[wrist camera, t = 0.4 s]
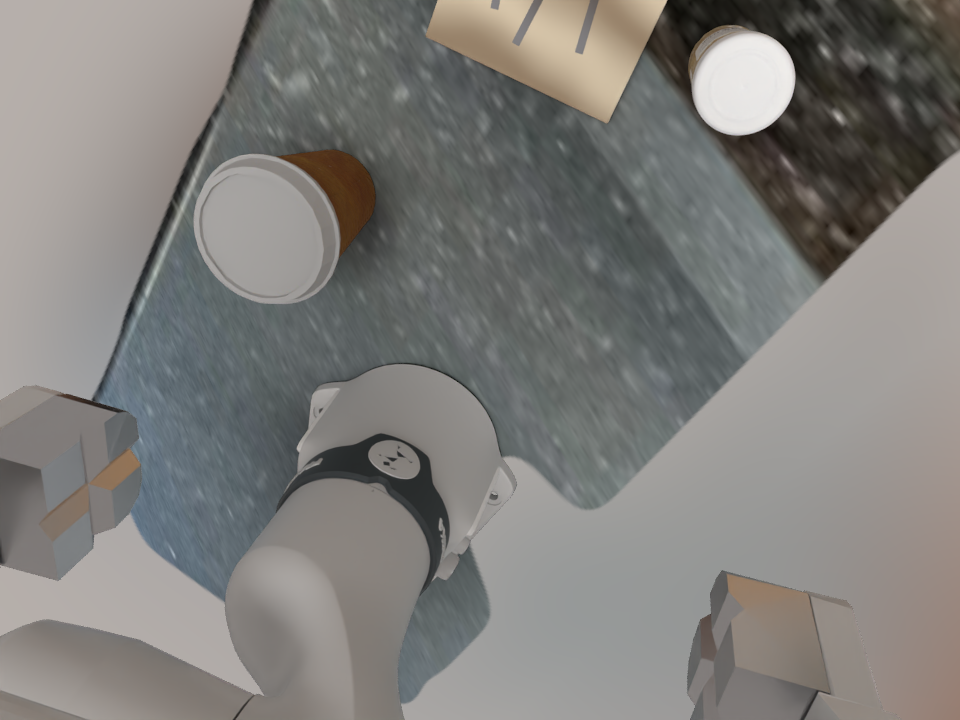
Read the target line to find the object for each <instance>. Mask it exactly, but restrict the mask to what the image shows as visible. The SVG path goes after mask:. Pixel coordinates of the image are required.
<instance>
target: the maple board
mask: <svg viewBox="0 0 960 720" xmlns="http://www.w3.org/2000/svg"><path fill="white" fill-rule="evenodd" d="M666 2H667V0H438V1H437V4H436V7H435V10H434V13H433V16H432V19H431V22H430V24H429V27H428V30H427V33H426V36H425V37H427V38H429V39H431V40H434V41H436V42H438V43H440V44H442V45H444V46H446V47H448V48H450V49H452V50H454V51H457V52H459V53H461V54H463V55H465V56H467V57H469V58H471V59H473V60H475V61H477V62H479V63H482V64H484V65H486V66H488V67H490V68H492V69H494V70H496V71H498V72H500V73H502V74H505V75H507V76H509V77H511V78H513V79H515V80H517V81H519V82H521V83H523V84H525V85H527V86H530V87H532V88H534V89H536V90H538V91H540V92H542V93H544V94H546V95H548V96H550V97H553V98H555V99H557V100H559V101H561V102H563V103H565V104H567V105H569V106H571V107H573V108H576V109H578V110H580V111H582V112H584V113H586V114H588V115H590V116H592V117H594V118H596V119H598V120H601V121H603V122H605V123H607V124H608V122H609V120H610V118H611V116H612V114H613V111H614V109H615V107H616V105H617V103H618V101H619V99H620V97H621V95H622V93H623V91H624V89H625V87H626V85H627V83H628V81H629V78H630V76H631V74H632V72H633V70H634V68H635V66H636V64H637V62H638V60H639V58H640V56H641V54H642V52H643V50H644V47H645V45H646V43H647V41H648V39H649V37H650V35H651V33H652V31H653V29H654V27H655V25H656V23H657V21H658V19H659V17H660V14H661V12H662V10H663V8H664V6H665V4H666Z"/></svg>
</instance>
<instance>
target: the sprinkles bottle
mask: <svg viewBox="0 0 960 720" xmlns="http://www.w3.org/2000/svg"><path fill="white" fill-rule="evenodd" d="M688 73H689V77H690V81H691V84H692V96H693V101H694V104H695V106H696V109H697V111H698V113H699V114H700V116H701V117H702V119H703V120H704V121H705V122H706V123H707V124H708V125H709V126H711V127H712V128H714V129H715V130H717V131H719V132H722V133H724V134H728V135H747V134H752V133H755V132H758V131H760V130H762V129H764V128H766V127H768V126H769V125H770V124H772V123H773V122H774V121H775V120H776V119H778V118H779V117H780V115H781V114H782V113H783V112H784V110H785V109H786V107H787V106H788V104H789V102H790V100H791V98H792V95H793V91H794V87H795V70H794V65H793V62H792V60H791V57H790V55H789V54H788V52H787V51H786V49H785V48H784V47H783V46H782V45H781V44H780V43H779V42H778V41H776V40H775V39H773V38H772V37H770V36H768V35H765V34H763V33H759V32H755V31H750V30H749V29H747V28H745V27H742V26H738V25H726V26H720V27H717V28H715V29H713V30H711V31H709V32H708V33H706V34H705V35H704V36H703V37H702V38H701V39H700V40H699V42H698V43H696V45H695V47H694V49H693V50H692V53H691V55H690V58H689V67H688Z"/></svg>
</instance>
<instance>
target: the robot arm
mask: <svg viewBox="0 0 960 720" xmlns="http://www.w3.org/2000/svg"><path fill="white" fill-rule="evenodd" d="M322 408H323V409H322ZM138 439H139V435H138V428H137V420H136V418H135V417H134V416H133V415H132V414H130V413H129V412H128V411H125V410H121V409H118V408H114V407H111V406H108V405H104V404H101V403H97V402H94V401H90V400H87V399H84V398H80V397H77V396H73V395H70V394H64V393H61V392H58V391H55V390H51V389H47V388H44V387H40V386H23V387H22V388H20V389H18V390H17V391H15V392H13V393H12V394H10V395H8V396H6V397H5V398H3V399H1V400H0V565H2V566H6V567H9V568H13V569H16V570H20V571H24V572H27V573H31V574H35V575H38V576H43V577H46V578H49V579H53V580H57V581H59V580H60V579H61V578H62V577H63V576H64V575H65V574H66V573H67V572H68V571H69V570H71V569H72V568H73V567H74V566H75V565H76V564H77V563H78V562H79V561H80V560H81V559H82V558H83V557H84V556H86V554H88V553H89V552H90V551H91V550H92V549H93V543H94V535H95V534H98V533H101V532H104V531H107V530H109V529H112V528H115V527H116V526H117V525H118V524H119V523H120V522H121V521H122V520H123V519H124V518H125V517H126V516H127V515H128V514H129V513H130V511H131V509H132V507H133V505H134V503H135V501H136V500H137V498H138V496H139V492H140V487H141V481H142V472H141V464H140V462H139V461H138V459H137V458H136V457H135V455H134V454H133V452H132V451H131V449H130V448H131V447H132V446H133V445H134V444H135V442H136V441H137V440H138ZM297 450H298V452H299V457H298V471H297V474H296V475H295V476H294V478H293V479H292V480H291V482H290V483H289V484H288V486H287V488H286V490H285V491H284V494H283V496H282V497H281V499H280V501H279V503H278V506H277V510H276V514H275V515H274V517H273V518H272V519H271V521H270V522H269V523H268V524H267V526H266V527H265V528H264V530H263V531H262V532H261V534H260V535H259V536H258V537H257V539H256V540H255V541H254V543H253V544H252V545H251V547H250V548H249V549H248V551H247V552H246V553H245V554H244V556H243V557H242V558H241V560H240V561H239V562H238V563H237V565H236V567H235V568H234V570H233V573H232V575H231V577H230V580H229V583H228V586H227V591H226V597H225V612H226V620H227V625H228V629H229V632H230V636H231V640H232V642H233V645H234V648H235V651H236V652H237V655H238V657H239V659H240V660H241V662H242V663H243V665H244V666H245V668H246V669H247V671H248V672H249V673H250V675H251V676H252V678H253V679H254V680H255V682H256V683H257V685H258V686H259V687H260V689H261V691H262V692H263V694H264V696H262V695H260V694H256V695H254V694H252V693H250V692H247V691H245V690H243V689H241V688H239V687H237V686H235V685H233V684H231V683H229V682H226V681H224V680H222V679H220V678H218V677H216V676H214V675H212V674H210V673H207V672H205V671H203V670H201V669H199V668H197V667H195V666H193V665H191V664H189V663H187V662H185V661H182V660H181V659H178V658H176V657H174V656H172V655H170V654H168V653H166V652H164V651H161V650H160V649H157V648H155V647H153V646H151V645H149V644H147V643H145V642H143V641H141V640H138V639H134V638H130V637H126V636H122V635H118V634H114V633H110V632H106V631H102V630H98V629H93V628H88V627H83V626H79V625H74V624H69V623H64V622H59V621H54V620H40V621H36V622H33V623H30V624H27V625H24V626H22V627H19V628H17V629H15V630H13V631H10V632H8V633H6V634H4V635H2V636H0V720H404V716H403V712H402V707H401V702H400V695H399V688H398V663H399V656H400V652H401V648H402V644H403V641H404V637H405V634H406V631H407V628H408V625H409V622H410V619H411V616H412V613H413V610H414V608H415V605H416V602H417V600H418V597H419V596H420V595H421V594H422V593H423V592H424V591H425V590H426V589H427V587H428V586H429V584H430V583H431V582H432V581H433V580H434V579H435V578H436V577H437V576H438V577H439V578H441V579H442V580H447V579H448V578H449V577H450V575H451V574H452V573H453V571H454V569H455V568H456V566H457V564H458V562H459V557H458V553H459V554H461V555H462V554H463V553H464V552H465V551H466V549H467V548H468V546H469V544H470V541H471V539H472V538H473V537H474V536H475V535H476V534H477V533H478V532H479V531H480V530H481V529H482V528H483V526H484V525H485V524H486V523H487V522H488V521H489V520H490V519H491V518H492V517H493V516H494V515H495V514H496V512H497V511H498V510H499V509H500V508H501V507H502V506H503V505H504V504H505V503H506V502H507V501H508V500H509V498H510V497H511V496H512V495H513V493H514V491H515V489H516V486H517V482H516V479H515V477H514V475H513V473H512V471H511V470H510V468H509V467H508V465H507V464H506V463H505V461H504V460H503V459H502V457H501V454H500V451H499V447H498V442H497V437H496V433H495V430H494V427H493V424H492V422H491V420H490V418H489V416H488V414H487V412H486V411H485V409H484V408H483V406H482V405H481V404H480V402H479V401H478V400H477V399H476V398H475V397H474V396H473V395H472V394H471V393H470V392H469V391H468V390H467V389H466V388H465V387H463V386H462V385H461V384H459V383H458V382H457V381H455V380H453V379H452V378H450V377H448V376H446V375H444V374H442V373H440V372H438V371H435V370H432V369H429V368H426V367H422V366H417V365H409V364H394V365H387V366H382V367H378V368H375V369H372V370H370V371H368V372H366V373H364V374H362V375H360V376H359V377H357V378H355V379H353V380H350V381H347V382H332V383H325V384H322V385H320V386H318V387H317V389H316V390H315V392H314V393H313V395H312V398H311V407H310V416H309V426H308V430H307V432H306V433H305V435H304V436H303V437H302V439H301V440H300V442H299V444H298V446H297ZM491 492H495V493H497V495H493V494H491ZM710 599H711V614H709V615H707V616H706V617H704V618H702V619H701V620H700V622H699V625H698V627H697V631H696V633H695V636H694V639H693V643H692V648H691V653H690V658H689V664H688V676H687V679H688V680H687V694H688V696H689V697H690V699H691V700H692V701H693V703H694V705H695V708H694V711H693V714H692V716H691V718H690V720H901V719H900V717H898V715H897V714H894V713H891V712H887V711H884V710H883V708H882V705H881V701H880V698H879V695H878V691H877V688H876V685H875V682H874V678H873V675H872V671H871V668H870V665H869V661H868V658H867V655H866V651H865V648H864V644H863V641H862V638H861V634H860V631H859V628H858V624H857V621H856V618H855V614H854V611H853V608H852V606H851V605H850V604H849V603H848V602H847V601H846V600H841V599H837V598H833V597H829V596H825V595H820V594H817V593H813V592H808V591H803V592H802V591H799V590H796V589H792V588H788V587H784V586H780V585H776V584H773V583H769V582H765V581H761V580H757V579H753V578H750V577H745V576H742V575H738V574H734V573H730V572H727V571H723V570H722V571H721V572H720V574H719V575H718V577H717V578H716V580H715V583H714V585H713V588H712V590H711V593H710Z"/></svg>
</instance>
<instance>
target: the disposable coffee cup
mask: <svg viewBox="0 0 960 720" xmlns="http://www.w3.org/2000/svg"><path fill="white" fill-rule="evenodd" d="M374 206H375V189H374V185H373V182H372V179H371V177H370V175H369V173H368V172H367V170H366V169H365V168H364V166H363V165H362V164H361V163H360V162H359V161H358V160H357V159H355V158H354V157H352V156H351V155H349V154H347V153H344V152H342V151H338V150H323V151H316V152H308V153H299V154H292V155H284V156H277V157H275V156H270V155H266V154H247V155H241V156H238V157H235V158H232V159H230V160H228V161H226V162H224V163H222V164H221V165H220V166H219V167H218V168H217V169H216V170H214V171H213V172H212V173H211V175H210V176H209V178H208V179H207V181H206V182H205V184H204V186H203V189H202V191H201V193H200V195H199V197H198V199H197V202H196V207H195V211H194V232H195V237H196V241H197V244H198V248H199V250H200V252H201V255H202V257H203V259H204V261H205V262H206V264H207V265H208V267H209V269H210V270H211V271H212V272H213V274H214V275H215V276H216V277H217V278H218V279H219V280H220V281H221V282H222V283H223V284H224V285H225V286H226V287H228V288H229V289H231V290H232V291H233V292H235V293H236V294H238V295H240V296H243V297H245V298H247V299H250V300H252V301H255V302H260V303H266V304H289V303H295V302H300V301H303V300H305V299H308V298H310V297H311V296H313V295H314V294H316V293H318V292H319V291H320V290H321V289H322V288H323V287H324V286H325V285H326V283H327V282H328V281H329V279H330V278H331V276H332V275H333V273H334V270H335V268H336V265H337V262H338V259H339V258H340V256H341V255H342V254H343V252H344V251H345V250H346V248H347V247H348V246H349V245H350V243H351V242H352V241H353V239H354V238H355V237H356V235H357V234H358V233H359V232H360V230H361V229H362V228H363V226H364V225H365V224H366V223H367V221H368V220H369V219H370V217H371V215H372V213H373V210H374Z"/></svg>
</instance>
